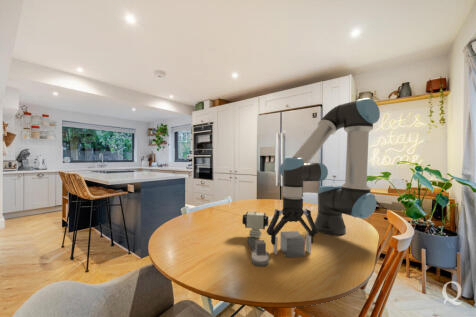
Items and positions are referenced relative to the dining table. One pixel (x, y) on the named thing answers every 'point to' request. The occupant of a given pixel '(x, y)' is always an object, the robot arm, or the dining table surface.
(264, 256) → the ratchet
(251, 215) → the pneumatic valve
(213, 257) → the dining table surface
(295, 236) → the gray cube
